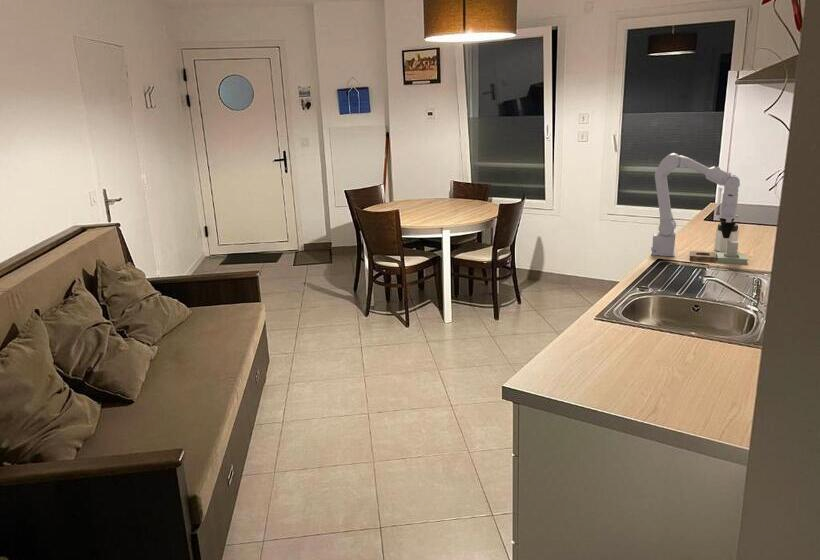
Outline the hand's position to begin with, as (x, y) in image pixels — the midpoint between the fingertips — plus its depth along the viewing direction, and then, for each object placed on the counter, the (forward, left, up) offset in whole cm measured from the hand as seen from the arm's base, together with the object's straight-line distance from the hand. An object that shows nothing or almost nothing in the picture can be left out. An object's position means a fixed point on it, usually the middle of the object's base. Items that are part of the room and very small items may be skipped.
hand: (725, 236), depth 260 cm
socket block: (-8, -2, -10) cm, 13 cm away
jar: (+2, +17, -10) cm, 20 cm away
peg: (+3, -2, -10) cm, 10 cm away
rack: (+3, -2, -10) cm, 10 cm away
